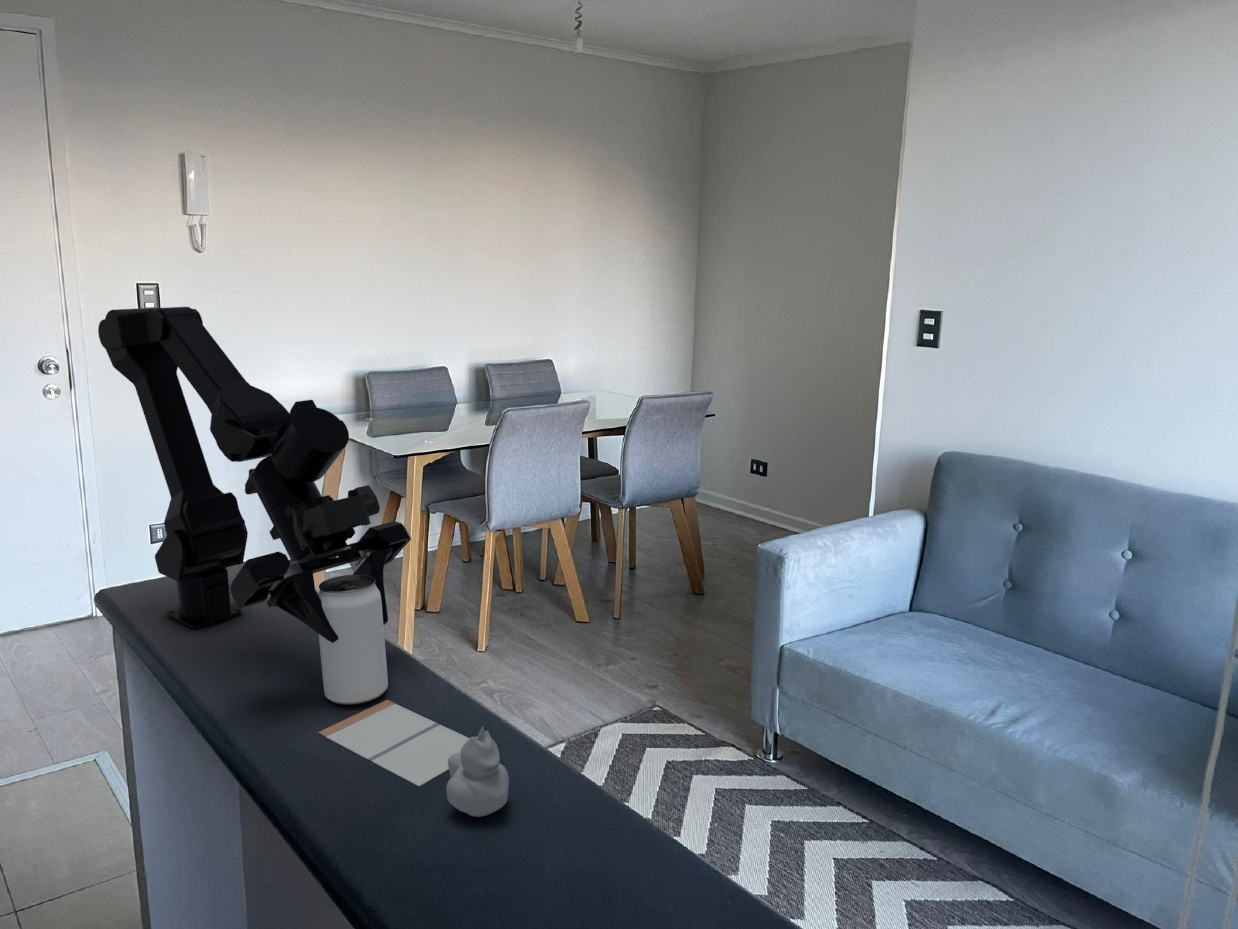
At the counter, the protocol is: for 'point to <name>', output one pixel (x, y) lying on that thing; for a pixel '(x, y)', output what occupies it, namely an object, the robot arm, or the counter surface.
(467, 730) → the counter surface
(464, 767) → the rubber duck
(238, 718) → the counter surface
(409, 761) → the distance mat
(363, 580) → the can
